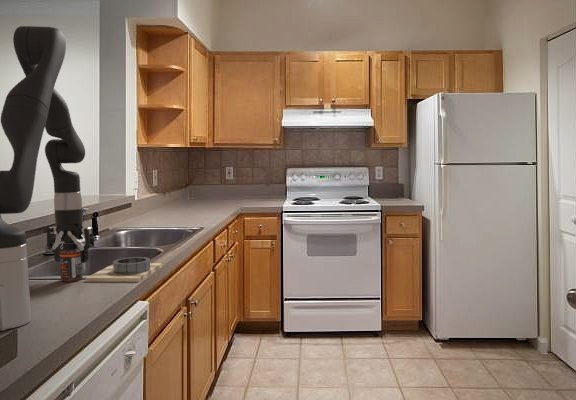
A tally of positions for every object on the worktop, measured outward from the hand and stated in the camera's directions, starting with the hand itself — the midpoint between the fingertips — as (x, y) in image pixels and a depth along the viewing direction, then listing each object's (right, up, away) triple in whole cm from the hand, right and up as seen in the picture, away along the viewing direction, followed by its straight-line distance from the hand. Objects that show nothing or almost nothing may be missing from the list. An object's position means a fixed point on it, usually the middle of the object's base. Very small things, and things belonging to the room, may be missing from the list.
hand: (71, 261), depth 148 cm
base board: (+14, -5, +7) cm, 16 cm away
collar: (+16, -3, +7) cm, 18 cm away
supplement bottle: (0, -6, 0) cm, 6 cm away
